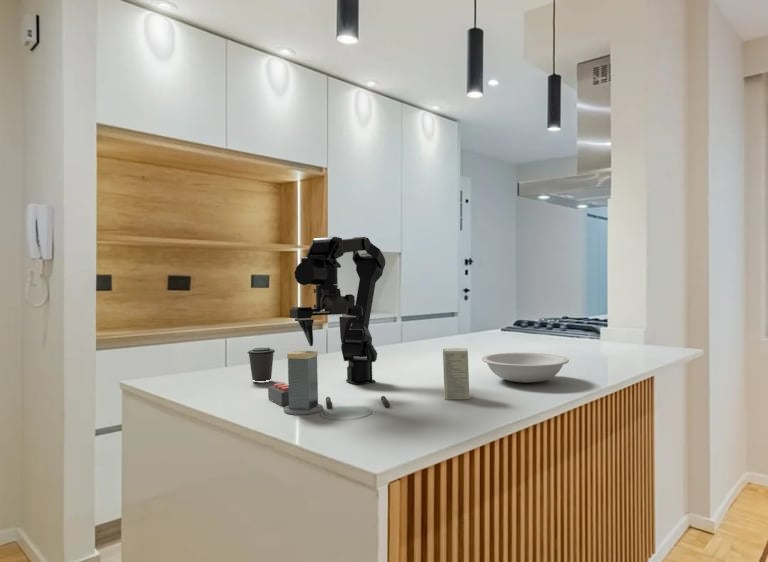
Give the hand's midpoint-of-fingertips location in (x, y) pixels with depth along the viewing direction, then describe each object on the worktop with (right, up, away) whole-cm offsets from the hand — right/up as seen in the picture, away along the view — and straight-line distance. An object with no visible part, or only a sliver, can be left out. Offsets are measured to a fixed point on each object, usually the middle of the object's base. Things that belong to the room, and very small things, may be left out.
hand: (327, 344), depth 136 cm
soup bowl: (+55, -12, +13) cm, 58 cm away
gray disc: (-4, -13, -16) cm, 21 cm away
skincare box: (+33, -13, -6) cm, 36 cm away
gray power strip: (-10, -13, -7) cm, 18 cm away
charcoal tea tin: (-4, -13, -16) cm, 20 cm away
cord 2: (+15, -13, -11) cm, 23 cm away
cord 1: (+1, -13, -11) cm, 17 cm away
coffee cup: (-22, -14, +19) cm, 32 cm away
